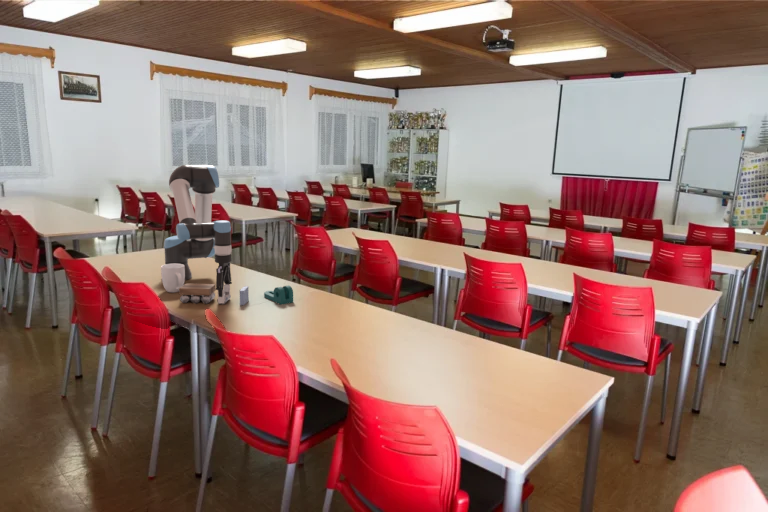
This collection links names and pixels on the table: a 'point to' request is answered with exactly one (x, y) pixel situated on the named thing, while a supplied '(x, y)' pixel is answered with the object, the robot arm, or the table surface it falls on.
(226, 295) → the roller
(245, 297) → the stop block
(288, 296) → the bracket
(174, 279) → the mug
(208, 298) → the grey ball cluster
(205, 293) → the slab
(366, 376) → the table surface
